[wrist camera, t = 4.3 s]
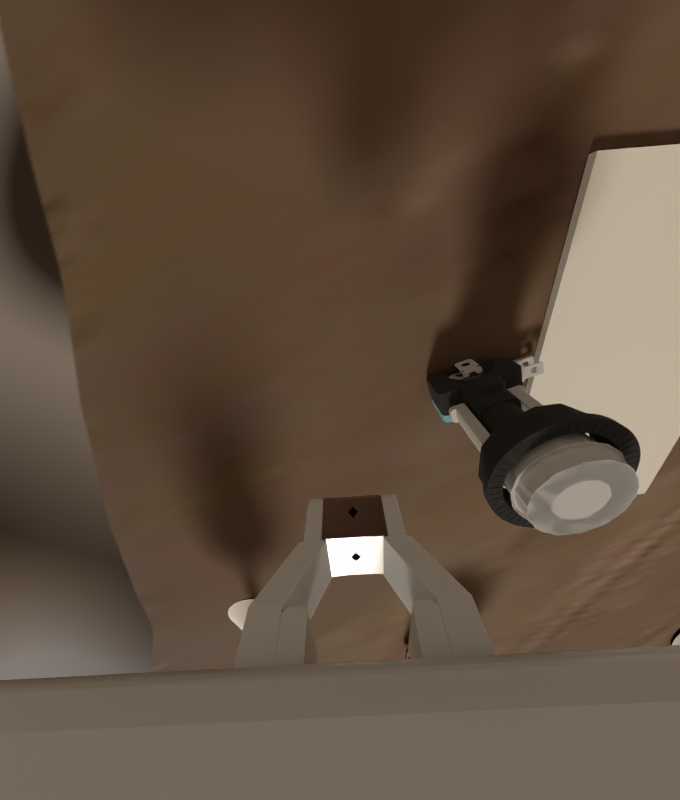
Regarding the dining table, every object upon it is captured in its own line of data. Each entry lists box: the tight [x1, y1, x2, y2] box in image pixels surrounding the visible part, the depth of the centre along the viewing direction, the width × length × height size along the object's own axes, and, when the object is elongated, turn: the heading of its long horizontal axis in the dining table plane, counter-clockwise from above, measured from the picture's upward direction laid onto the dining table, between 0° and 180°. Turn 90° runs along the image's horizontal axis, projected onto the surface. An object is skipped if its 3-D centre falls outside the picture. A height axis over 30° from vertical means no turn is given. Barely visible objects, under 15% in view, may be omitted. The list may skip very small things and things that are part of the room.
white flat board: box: [503, 144, 680, 494], centre depth 18 cm, size 12×22×1 cm, turn 4°
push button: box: [426, 356, 641, 535], centre depth 14 cm, size 7×5×10 cm
